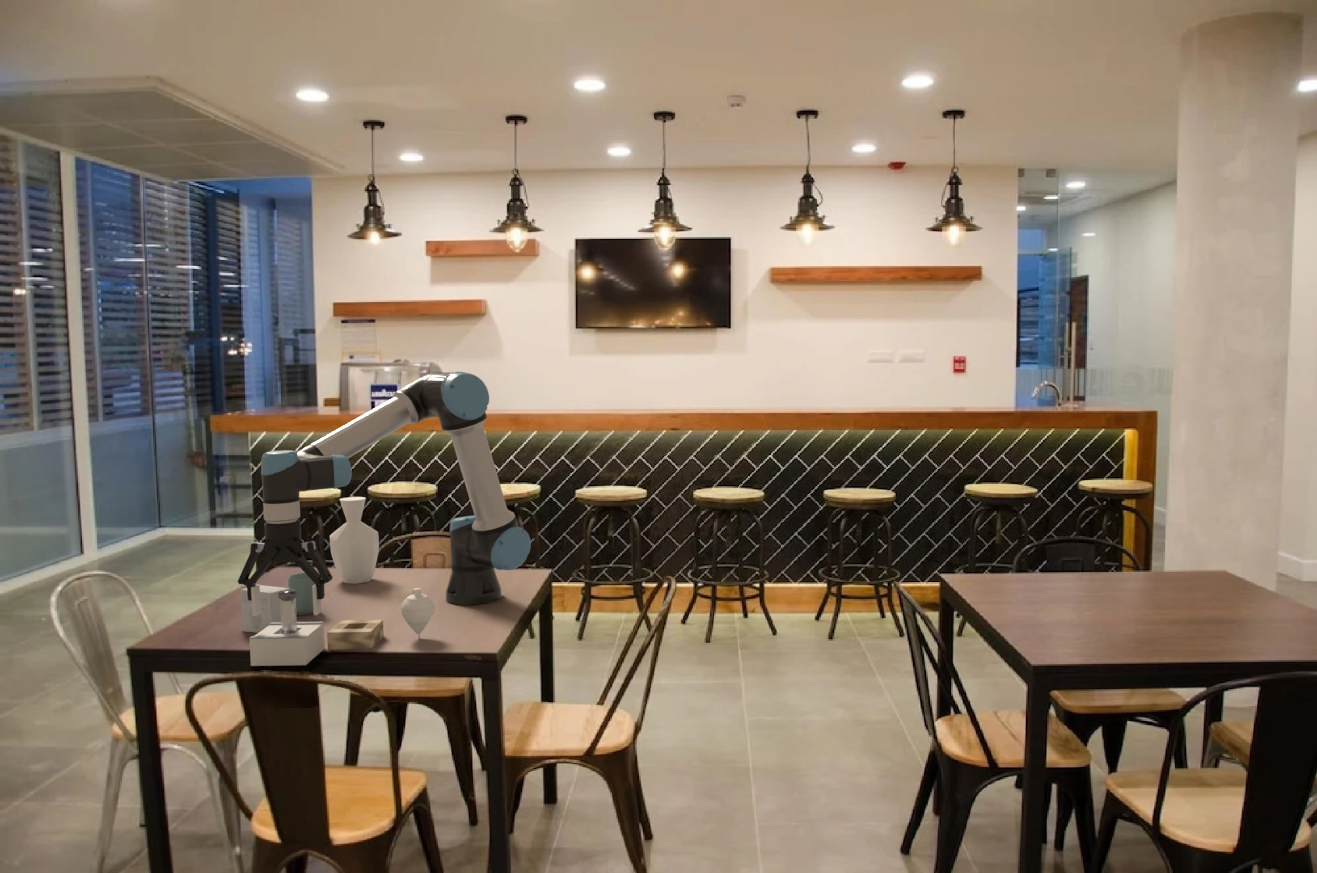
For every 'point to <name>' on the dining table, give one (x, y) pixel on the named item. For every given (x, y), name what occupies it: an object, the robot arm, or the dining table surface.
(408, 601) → the spinning top
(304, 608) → the cup
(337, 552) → the vase
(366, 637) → the mount
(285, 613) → the pin
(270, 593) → the skincare box
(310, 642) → the socket
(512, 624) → the dining table surface
